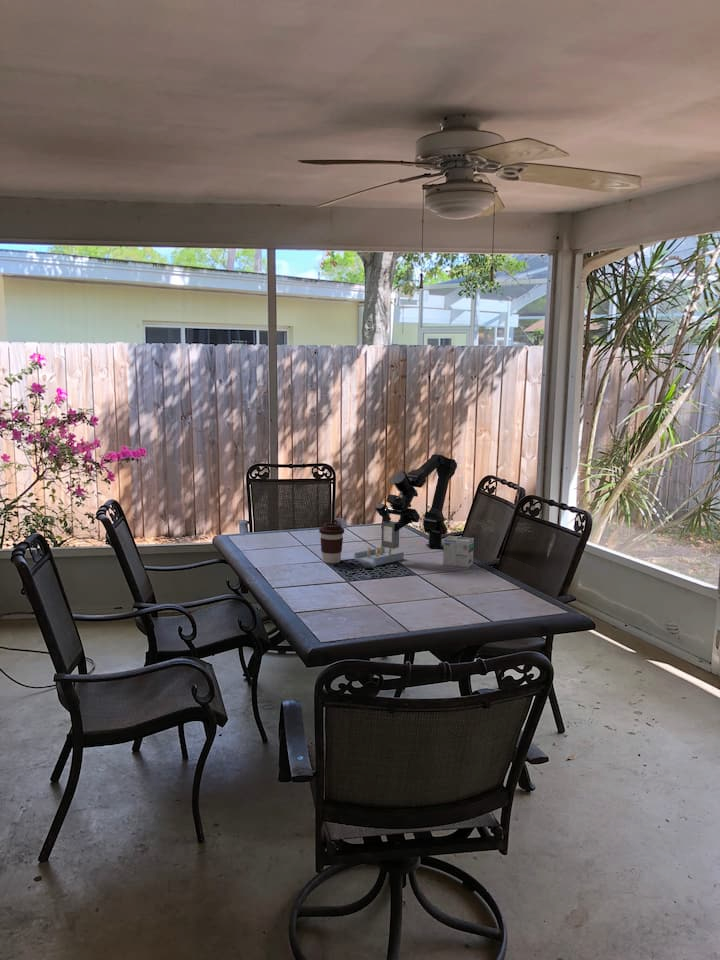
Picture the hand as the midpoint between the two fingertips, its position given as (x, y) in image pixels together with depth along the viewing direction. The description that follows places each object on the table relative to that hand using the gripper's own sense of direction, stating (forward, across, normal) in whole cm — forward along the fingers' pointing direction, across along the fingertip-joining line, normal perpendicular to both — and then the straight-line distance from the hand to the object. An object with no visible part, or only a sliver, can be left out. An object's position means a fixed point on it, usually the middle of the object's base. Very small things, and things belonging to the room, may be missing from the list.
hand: (388, 529), depth 301 cm
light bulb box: (-2, +22, +22) cm, 31 cm away
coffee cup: (+19, -18, 0) cm, 26 cm away
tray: (+8, -6, +11) cm, 15 cm away
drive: (+4, 0, +6) cm, 7 cm away
